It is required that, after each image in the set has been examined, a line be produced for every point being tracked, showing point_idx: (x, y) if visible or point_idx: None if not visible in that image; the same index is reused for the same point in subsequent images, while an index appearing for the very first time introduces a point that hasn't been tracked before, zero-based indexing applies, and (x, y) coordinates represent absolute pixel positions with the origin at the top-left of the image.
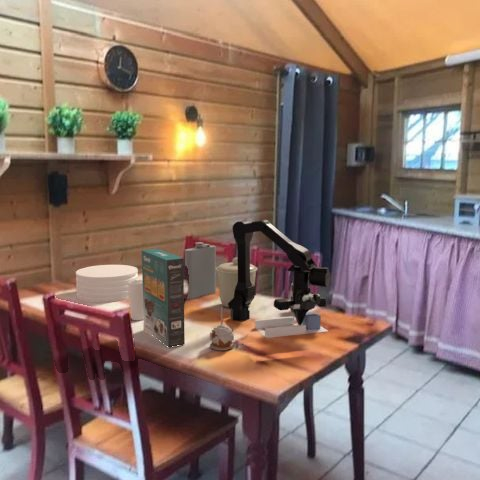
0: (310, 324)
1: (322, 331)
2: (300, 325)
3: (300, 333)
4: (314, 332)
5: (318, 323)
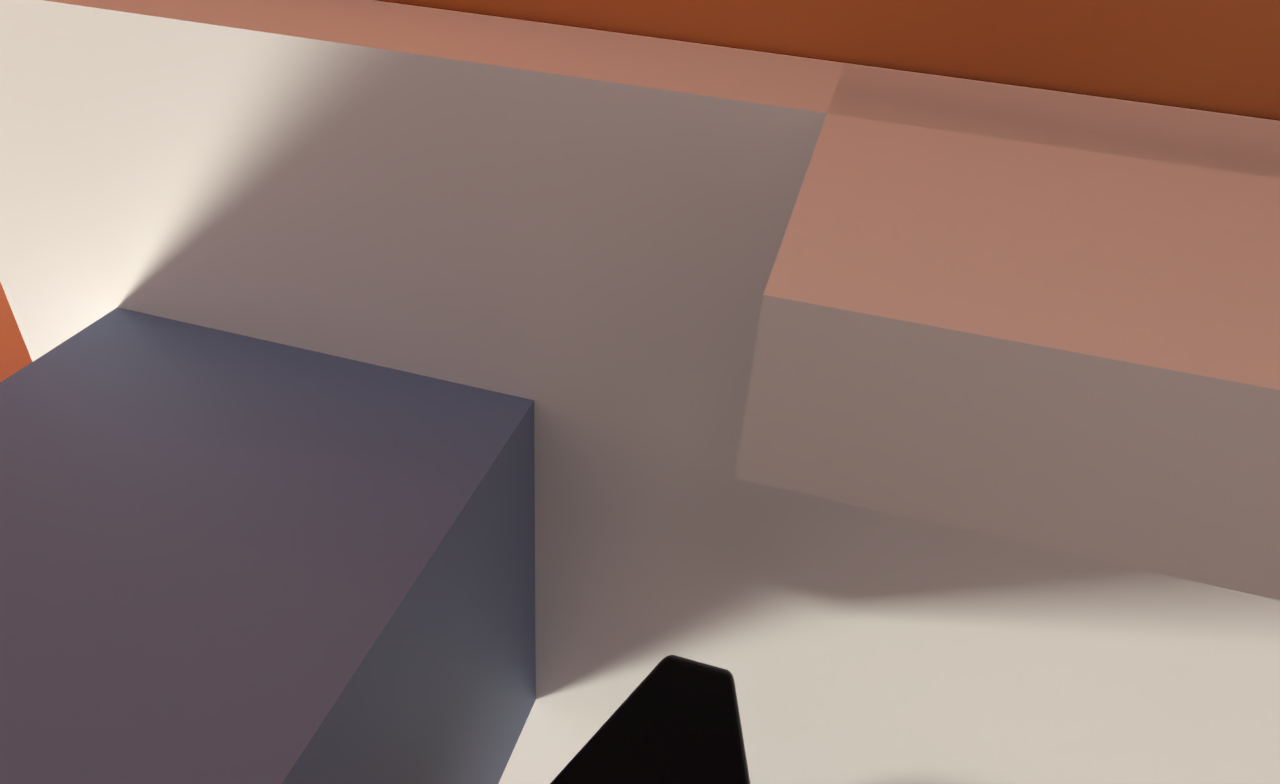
0: (341, 504)
1: (86, 34)
2: (1116, 456)
3: (1107, 168)
4: (407, 67)
5: (28, 428)
